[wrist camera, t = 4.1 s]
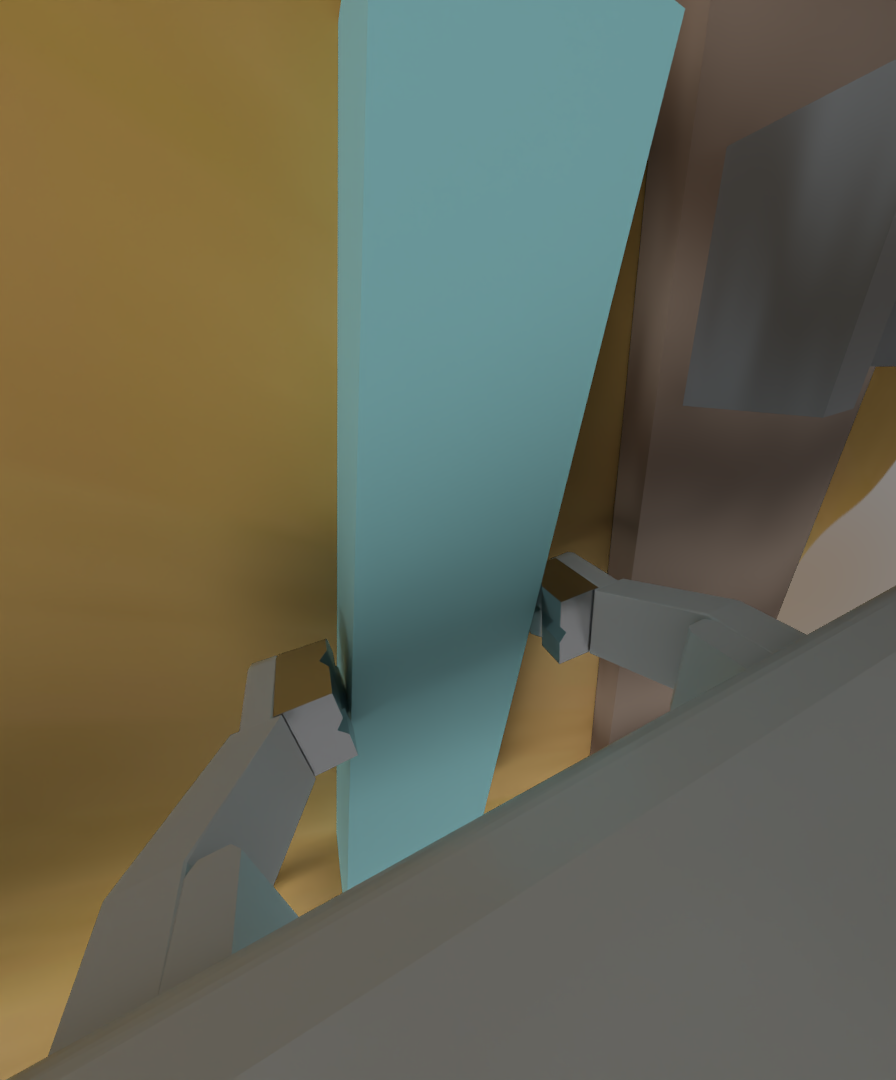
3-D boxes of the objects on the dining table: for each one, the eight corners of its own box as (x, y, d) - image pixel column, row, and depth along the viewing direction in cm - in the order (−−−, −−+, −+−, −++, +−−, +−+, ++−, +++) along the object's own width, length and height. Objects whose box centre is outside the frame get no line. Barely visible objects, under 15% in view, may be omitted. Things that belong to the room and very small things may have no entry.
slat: (336, 37, 6) (374, -244, 3) (545, 137, 7) (685, 7, 5) (335, 824, 13) (346, 931, 11) (437, 791, 15) (467, 877, 12)
